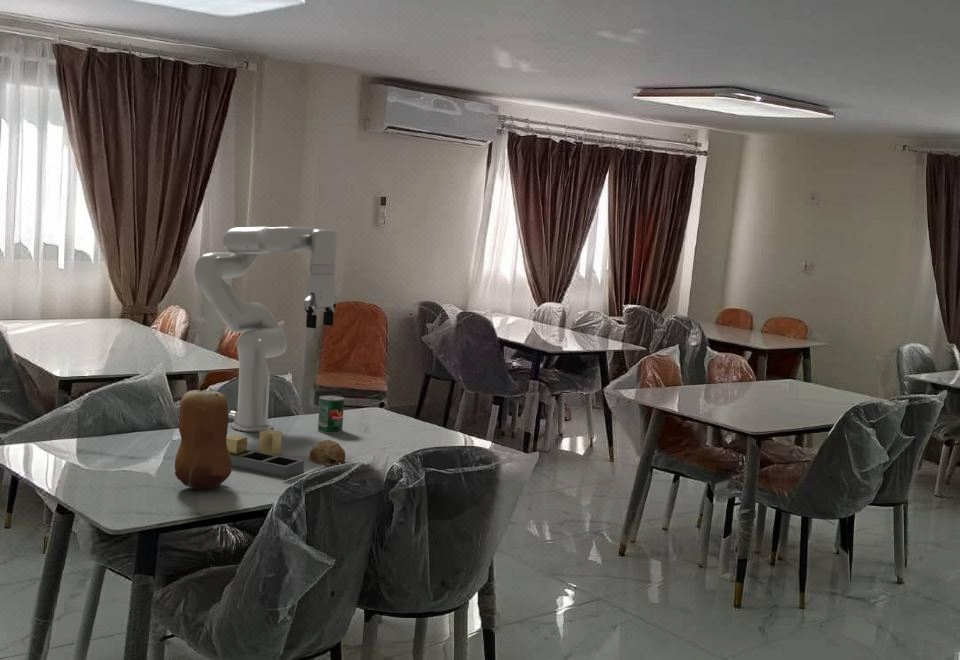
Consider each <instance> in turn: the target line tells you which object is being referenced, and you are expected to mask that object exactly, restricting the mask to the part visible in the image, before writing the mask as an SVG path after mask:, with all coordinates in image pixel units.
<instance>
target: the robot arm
mask: <svg viewBox="0 0 960 660" xmlns="http://www.w3.org/2000/svg"><path fill="white" fill-rule="evenodd" d="M337 240H338V239H337V232H336V231H335V230H333V229H327V228H326V229H324V228H315V227H310V226H309V227H308V226H276V227H275V226H273V227H272V226H271V227H270V226H245V227H244V226H241V227H240V226H239V227H233V228H230V229H228V230H226V232H225V233H224V234H223V237H222V245H223V246H224V248H225V249H226V250H227V251H228V252H227V251H226V252H225V251H224V252H223V251H222V252H219V251H215V252H209V253H204V254H203V255H200V257H198V258H197V260H196V262H195V266H194V278H195V282H196V284H197V286H198V288H199V290H200V291H201V293H203V295H204V296H205V297H206V299H207V300H208V301H209V303H210V304H211V305H212V306H213V309H214V310H215V311H216V313H217V314H218V316H219V317H220V319H221V320H222V322H223V323H224V325H225V326H226V327H227V329H228V330H229V331H231V332H232V333H235V334H237V333H239V334H240V333H241V335H240V336H239V337H238V340H237V343H236V347H237V348H236V349H237V356H238V374H239V375H238V391H237V395H238V396H237V411H235V410H231V411H229V413H228V419H229V418H230V419H234V420H233V422H232V423H231V428H232V427H233V428H232V429H234V430H236V429H237V430H236V431H240V430H241V431H242V432H251V433H254V432H256V433H257V432H258V433H259V432H260V431H264V430H267V429H272V428H273V423H272V422H270V421H268V419H269V399H270V398H269V397H270V395H269V394H270V382H271V381H270V376H271V375H270V374H271V372H270V367H269V364H268V362H267V359H270V358H276V357H279V356H281V355H283V354H284V353H285V352H286V351H287V348H288V339H287V338H288V337H287V336H286V333H285V331H284V330H283V328H282V327H281V325H280V324H279V323H278V321H277V320H276V319H275V317H274V315H273V314H272V312H271V311H270V310H269V309H268V307H266V306H265V305H264V304H262V303H260V302H258V301H257V302H256V301H251V302H250V301H249V302H246V301H244V300H242V298H241V297H240V296H239V295H238V293H237V292H236V290H235V288H233V286H231V285H230V284H229V283H227V282H226V281H225V280H224V279H237V278H240V277H242V276H243V275H245V273H246V272H247V271H248V270H249V269H250V268H251V266H252V265H253V264H254V263H255V262H256V261H257V259H258V258H259V256H260V255H267V254H268V255H269V254H271V253H291V252H292V253H294V252H295V253H297V252H301V253H302V252H304V253H309V252H310V261H309V263H310V264H309V274H308V278H307V282H306V283H307V284H306V289H305V290H306V291H305V299H304V300H303V304H304V310H305V314H306V320H305V321H306V322H305V327H306V328H310V329H316V328H317V319H318V318H317V317H318V314H316V313H317V311H318V310H319V309H324V311H323V320H322V322H323V323H322V324H323V325H324V326H331V327H332V326H333V325H334V316H335V315H334V313H335V312H336V311H335V309H336V306H337V301H338V297H337V296H336V283H335V282H336V280H335V275H336V274H335V273H336V262H337V261H336V259H337V257H336V256H337Z"/></svg>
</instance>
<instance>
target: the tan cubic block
mask: <svg viewBox="0 0 960 660" xmlns="http://www.w3.org/2000/svg"><path fill="white" fill-rule="evenodd" d="M258 438H259V440H258V452H263V453H268V454H273V455H280V454H282V438H283V431H281V430H278V429H272V428H271V429H267V430H264V431H259V437H258Z"/></svg>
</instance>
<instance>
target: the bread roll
mask: <svg viewBox="0 0 960 660" xmlns="http://www.w3.org/2000/svg"><path fill="white" fill-rule="evenodd" d="M309 460H310V462H314V463H318V464H322V466H326V467H328V466H336V465H335V464H337V465H340V464H339V463H343V464H344V462H345V460H346V452H345V450H344V448H343V447H342V446H341V445H340V444H339V442H336V441H334V440H330V439H325V440H322V441H319V443H317V444H316V445H314V446H313V447H312V448H311V450H310V452H309Z"/></svg>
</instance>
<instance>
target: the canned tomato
mask: <svg viewBox="0 0 960 660" xmlns="http://www.w3.org/2000/svg"><path fill="white" fill-rule="evenodd" d="M318 403H319V404H318V418H317V419H318V422H317V431H318V432H319V433H323V434H330V435H331V434H341V433H342V432H343V424H344V423H343V421H344V407H345V397H343V396H341V395H335V394H334V395H331V394H328V395H325V394H324V395H320V396H319V402H318Z"/></svg>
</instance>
